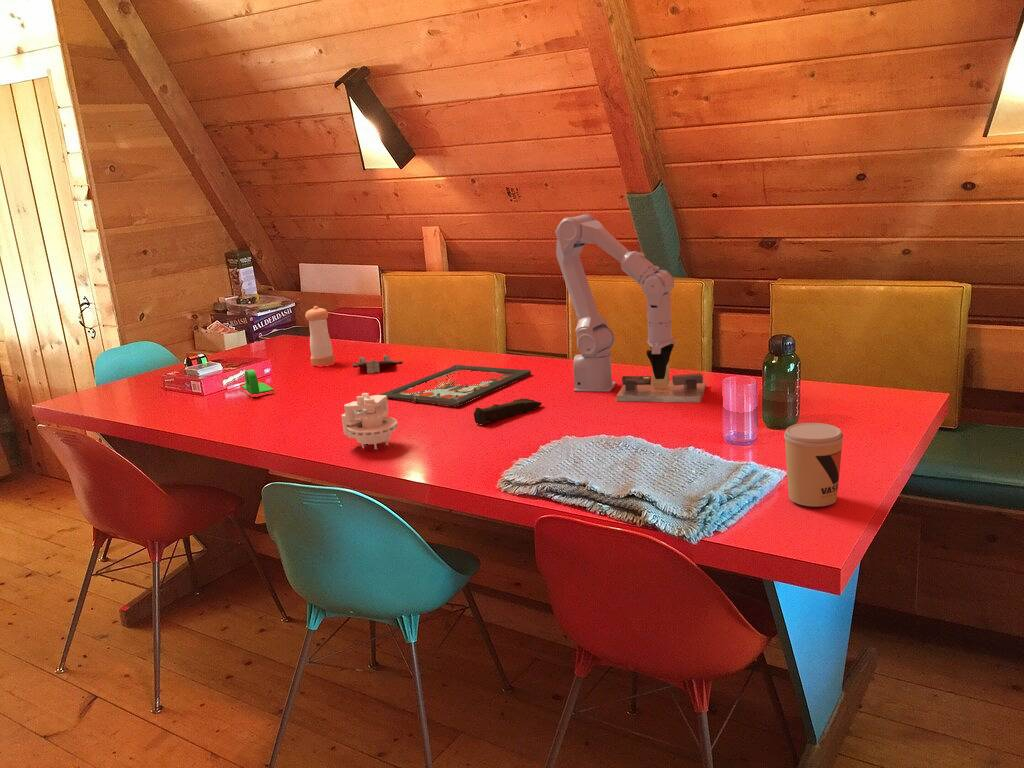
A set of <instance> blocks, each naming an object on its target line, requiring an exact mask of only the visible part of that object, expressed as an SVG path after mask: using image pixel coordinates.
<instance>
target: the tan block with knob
mask: <svg viewBox="0 0 1024 768" xmlns="http://www.w3.org/2000/svg"><path fill="white" fill-rule="evenodd" d="M651 381H652V382H653V387H668V385H669V381H670V360H669V361H667V364H666V372H665V377H664V379H655V376H654V372H653V368H652V367H651Z"/></svg>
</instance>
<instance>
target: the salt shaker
mask: <svg viewBox="0 0 1024 768" xmlns="http://www.w3.org/2000/svg"><path fill="white" fill-rule="evenodd" d="M304 316H305V319H306V320H307V321H308V325H309V334H310V335H309V347H310V348H309V349H310V355H311V356H310V363H311V364H312V365H329V364H332V363H334V362H335V363H336V361H335V360H336V359H335V354H334V353H333V346H332V341H331V336H330V334H329V330H328V329H329V327H328V321H327V319H328V317H329V312H328V310H327V309H326V308H322V307H319V306H318V305H314V306H313V308H311V309H308V310H306V312H305V315H304ZM312 365H311V366H312Z"/></svg>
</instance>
